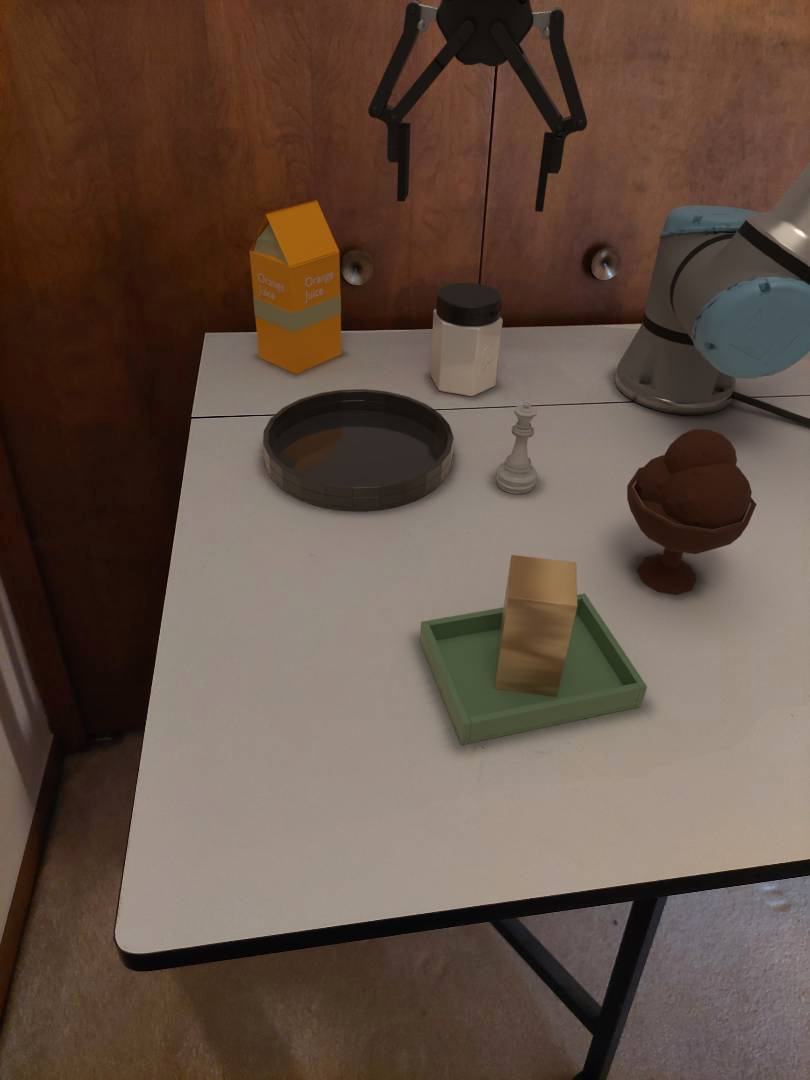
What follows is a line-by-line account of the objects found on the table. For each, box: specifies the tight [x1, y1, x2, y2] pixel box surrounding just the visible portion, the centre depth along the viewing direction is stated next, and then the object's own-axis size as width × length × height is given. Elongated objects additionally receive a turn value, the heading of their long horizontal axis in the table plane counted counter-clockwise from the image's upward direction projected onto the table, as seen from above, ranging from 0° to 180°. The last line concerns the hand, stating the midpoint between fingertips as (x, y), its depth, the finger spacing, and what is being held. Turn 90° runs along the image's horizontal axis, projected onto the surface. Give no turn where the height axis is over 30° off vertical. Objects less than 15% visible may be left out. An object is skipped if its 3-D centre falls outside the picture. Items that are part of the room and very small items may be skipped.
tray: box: [419, 592, 648, 746], centre depth 66 cm, size 15×11×2 cm
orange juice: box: [249, 199, 342, 375], centre depth 105 cm, size 8×9×20 cm
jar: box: [429, 282, 504, 397], centre depth 103 cm, size 9×8×12 cm
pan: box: [262, 388, 455, 512], centre depth 91 cm, size 21×21×3 cm
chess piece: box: [495, 401, 538, 495], centre depth 85 cm, size 4×4×10 cm
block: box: [495, 554, 578, 697], centre depth 63 cm, size 5×5×10 cm
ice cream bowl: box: [626, 428, 758, 596], centre depth 72 cm, size 11×11×15 cm
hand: (470, 203), depth 80 cm, fingers open, 13 cm apart
